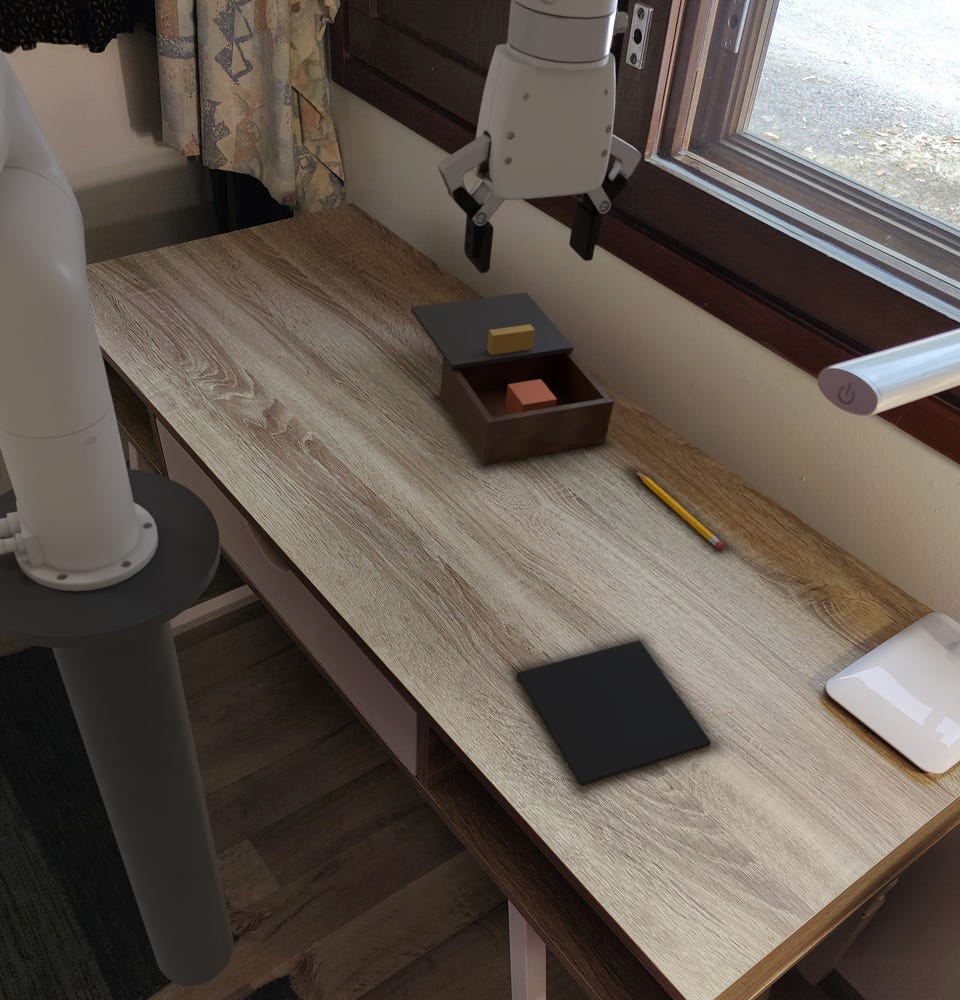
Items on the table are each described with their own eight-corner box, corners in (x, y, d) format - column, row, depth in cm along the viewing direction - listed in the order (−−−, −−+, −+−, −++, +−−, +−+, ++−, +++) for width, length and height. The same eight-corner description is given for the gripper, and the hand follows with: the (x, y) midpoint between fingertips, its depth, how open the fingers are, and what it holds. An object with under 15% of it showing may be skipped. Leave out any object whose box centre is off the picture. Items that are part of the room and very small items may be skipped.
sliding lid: (451, 369, 105) (453, 344, 103) (411, 311, 113) (412, 286, 111) (572, 351, 110) (577, 327, 108) (525, 296, 118) (529, 273, 116)
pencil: (717, 550, 98) (718, 545, 97) (632, 475, 105) (633, 470, 104) (723, 548, 98) (724, 543, 98) (638, 473, 105) (639, 468, 105)
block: (518, 436, 106) (523, 404, 103) (503, 415, 109) (507, 384, 106) (551, 430, 108) (557, 399, 105) (536, 410, 110) (541, 378, 107)
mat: (580, 786, 77) (581, 783, 76) (517, 675, 84) (517, 672, 84) (710, 745, 81) (711, 742, 80) (638, 643, 88) (639, 639, 88)
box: (483, 465, 103) (488, 422, 100) (439, 399, 111) (442, 357, 107) (604, 443, 108) (614, 401, 104) (555, 381, 116) (561, 339, 112)
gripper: (638, 13, 76) (598, 230, 89) (429, 18, 71) (418, 249, 83) (688, 45, 72) (639, 269, 84) (469, 53, 66) (452, 292, 79)
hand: (530, 259), depth 84 cm, fingers open, 9 cm apart
